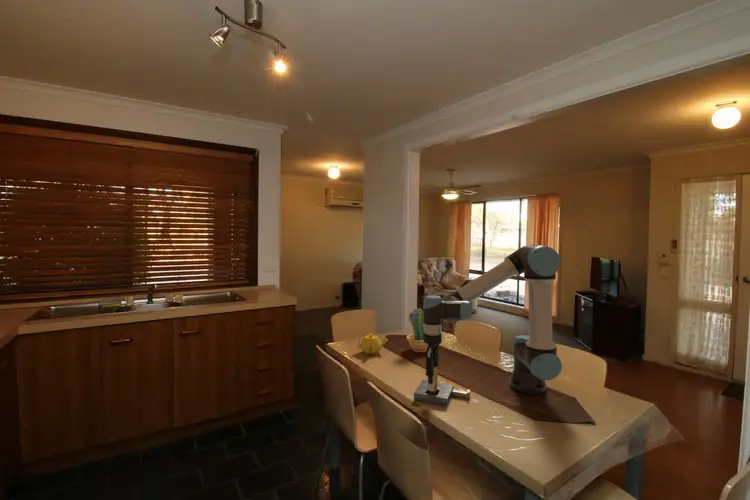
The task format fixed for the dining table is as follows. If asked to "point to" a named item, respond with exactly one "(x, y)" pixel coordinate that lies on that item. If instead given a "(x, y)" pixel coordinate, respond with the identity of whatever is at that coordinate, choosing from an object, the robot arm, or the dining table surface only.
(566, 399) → the dining table surface
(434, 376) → the cylinder
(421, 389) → the block
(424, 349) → the potted cactus
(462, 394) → the lock pin
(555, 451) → the dining table surface
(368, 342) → the teapot
